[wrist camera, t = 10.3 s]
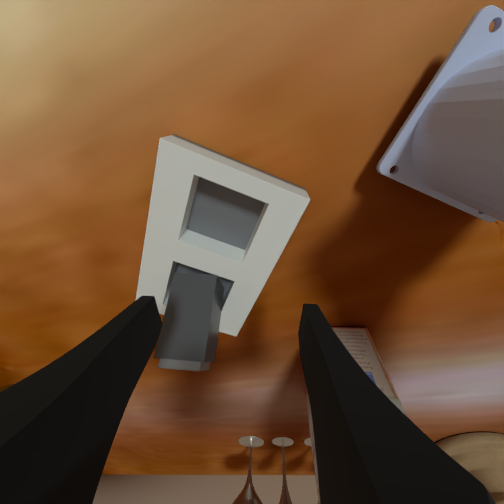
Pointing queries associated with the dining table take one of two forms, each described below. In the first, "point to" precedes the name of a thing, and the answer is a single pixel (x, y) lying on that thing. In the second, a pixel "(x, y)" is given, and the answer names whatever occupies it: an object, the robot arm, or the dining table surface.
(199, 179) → the socket plate
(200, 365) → the plug
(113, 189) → the dining table surface
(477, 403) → the dining table surface
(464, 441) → the candle holder
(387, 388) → the cracker box
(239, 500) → the goblet set
